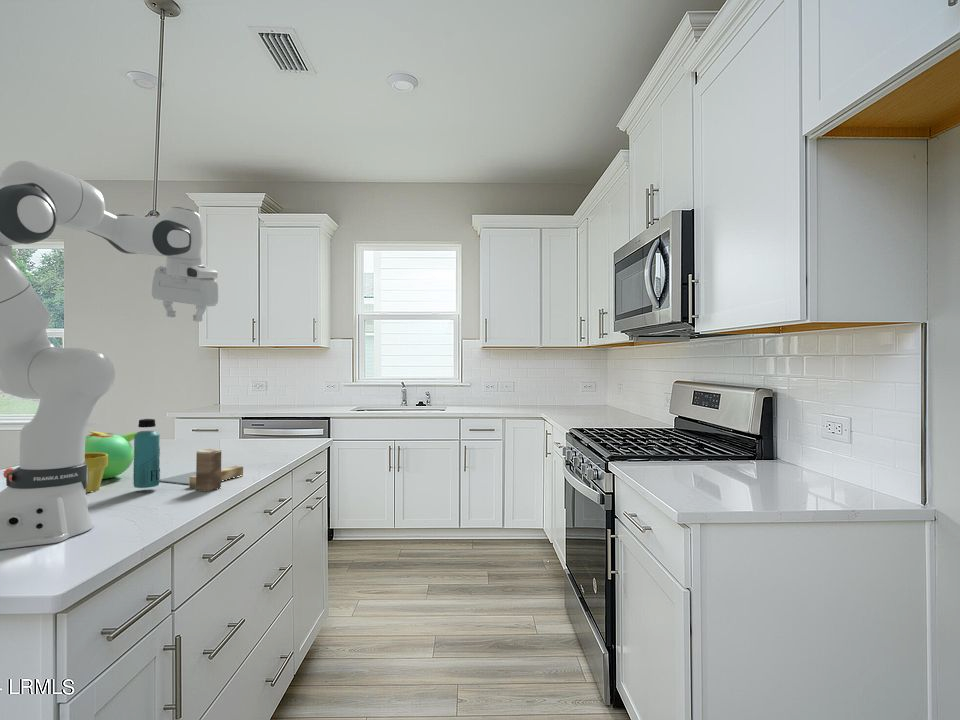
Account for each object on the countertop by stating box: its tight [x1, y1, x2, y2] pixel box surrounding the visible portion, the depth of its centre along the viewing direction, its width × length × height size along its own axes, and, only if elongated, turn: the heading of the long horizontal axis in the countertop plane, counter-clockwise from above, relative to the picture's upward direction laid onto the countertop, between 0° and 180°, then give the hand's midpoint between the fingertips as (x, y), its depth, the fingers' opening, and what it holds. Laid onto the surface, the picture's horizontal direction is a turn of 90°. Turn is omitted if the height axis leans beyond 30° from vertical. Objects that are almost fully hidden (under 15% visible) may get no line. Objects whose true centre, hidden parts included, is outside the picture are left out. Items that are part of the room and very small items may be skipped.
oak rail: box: [188, 465, 244, 488], centre depth 171 cm, size 18×3×3 cm, turn 161°
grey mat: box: [159, 471, 196, 486], centre depth 174 cm, size 14×14×1 cm
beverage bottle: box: [132, 418, 161, 489], centre depth 157 cm, size 6×7×20 cm
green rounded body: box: [85, 430, 139, 480], centre depth 173 cm, size 18×17×15 cm
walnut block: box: [195, 448, 222, 492], centre depth 161 cm, size 4×4×11 cm
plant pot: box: [85, 453, 108, 493], centre depth 156 cm, size 10×10×10 cm
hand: (184, 319), depth 158 cm, fingers open, 8 cm apart
